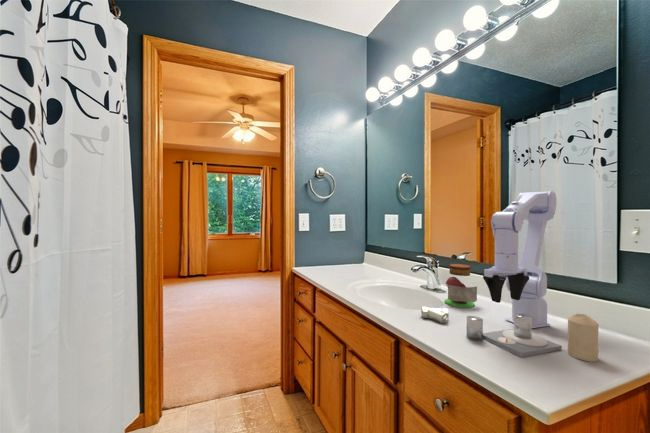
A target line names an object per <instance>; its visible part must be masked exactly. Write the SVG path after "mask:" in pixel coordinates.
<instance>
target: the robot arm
mask: <svg viewBox="0 0 650 433" xmlns="http://www.w3.org/2000/svg"><path fill="white" fill-rule="evenodd" d="M557 202H558V201H557V195H556V192H555V191H554V190H548V191H531V192H528V191H527V192H523V191H522V192H519V193H518V195H517V198H516V201H511V202H510V204H509V205H508V206H506V208H505V209H503V210H502V211H496V212H495V213H493V214H492V216H491V220H490V225H491V229H492V235H493V236H492V237H494V266H491V267H490V268H485V269H483V271H484V272H483V273H484V274H483V275H482V279H483V281H484V282H485V284H486V285H487V288H488V290H489V294H490V297H491V302H494V303H497V304H498V303H499V304H500V303H501V301H502V291H503V288H504V284H505V288H506V289H507V291H508V292H509V294H510V299H511V303H512V304H511V317H509V318H508V317H507V318H505V321H507V322H510V323H513V324H514V314H525V315H529V316H531V317H532V329H536V328H537V329H538V328H543V327H550V326H551V324H550V323H548V303H547V301H546V299H545V298H544V297H545V296H546V294H547V291H548V276H547V273H546V272H545V271H544V270H542V269H541V268H540V267H539V264H540V258H541V253H542V247H543V241H544V236H545V232H546V228H547V224H548V221H550V220H552V219H554V217H555V214H556V209H557ZM524 220H525V221H527V223H528V224H527V228H526V234H525V238H524V243H523V247H522V252H521V256H520V257H521V258H520V261H519V232H521V231H522V228H523V224H524ZM502 276H503V277H504V276H506V278H505V279H504V278H501V277H502Z"/></svg>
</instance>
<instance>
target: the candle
mask: <svg viewBox="0 0 650 433" xmlns="http://www.w3.org/2000/svg"><path fill="white" fill-rule="evenodd" d="M567 354H568V355H569V356H571V357H572V358H575V359H578V360H579V361H580V360H581V361H585V362H590V363H591V362H592V363H594V362H595V363H597V362H598V360H599V323H598V322H597V321H596V320H594V319H593V318H591V316H588V315H587V314H584V313H576V314H573V315H571V316H570V317H568V318H567Z"/></svg>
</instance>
